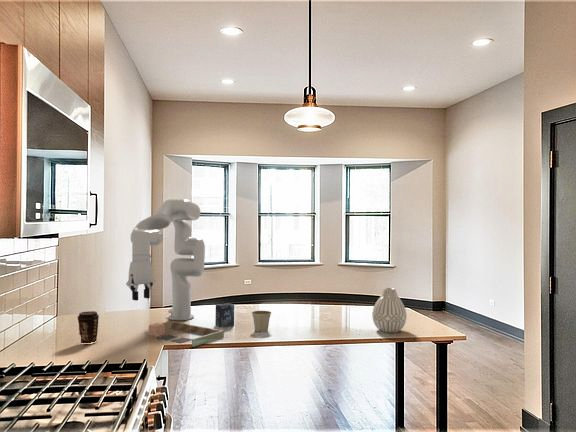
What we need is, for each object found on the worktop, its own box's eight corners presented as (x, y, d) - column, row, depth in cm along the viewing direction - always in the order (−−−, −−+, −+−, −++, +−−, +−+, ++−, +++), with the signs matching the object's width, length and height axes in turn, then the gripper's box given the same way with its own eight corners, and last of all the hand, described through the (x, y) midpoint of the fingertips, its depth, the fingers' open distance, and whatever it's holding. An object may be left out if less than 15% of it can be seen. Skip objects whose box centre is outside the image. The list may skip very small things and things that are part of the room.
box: (220, 327, 244) (220, 306, 244) (215, 325, 248) (215, 304, 248) (234, 325, 248) (234, 304, 248) (229, 323, 253) (229, 302, 253)
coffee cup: (81, 340, 218) (81, 310, 218) (101, 340, 219) (101, 310, 219) (74, 345, 210) (74, 314, 210) (95, 345, 210) (95, 314, 210)
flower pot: (274, 329, 241) (274, 311, 241) (267, 333, 232) (267, 315, 232) (256, 327, 244) (256, 309, 244) (248, 332, 235) (248, 313, 235)
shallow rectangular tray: (140, 335, 227) (140, 329, 227) (171, 327, 243) (171, 321, 243) (193, 346, 209) (193, 339, 209) (223, 337, 225) (223, 330, 225)
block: (148, 334, 230) (148, 325, 229) (157, 332, 234) (157, 323, 234) (156, 336, 227) (156, 326, 227) (164, 334, 231) (164, 324, 231)
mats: (156, 338, 223) (156, 337, 223) (168, 335, 229) (168, 334, 229) (180, 343, 215) (180, 342, 215) (192, 339, 220) (192, 339, 220)
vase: (412, 334, 232) (412, 290, 232) (378, 335, 229) (379, 291, 229) (398, 326, 248) (399, 285, 248) (367, 327, 245) (367, 286, 245)
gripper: (150, 256, 232) (150, 295, 232) (119, 259, 217) (119, 301, 218) (161, 257, 227) (161, 297, 228) (130, 260, 213) (130, 302, 213)
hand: (141, 298), depth 223 cm, fingers open, 5 cm apart
